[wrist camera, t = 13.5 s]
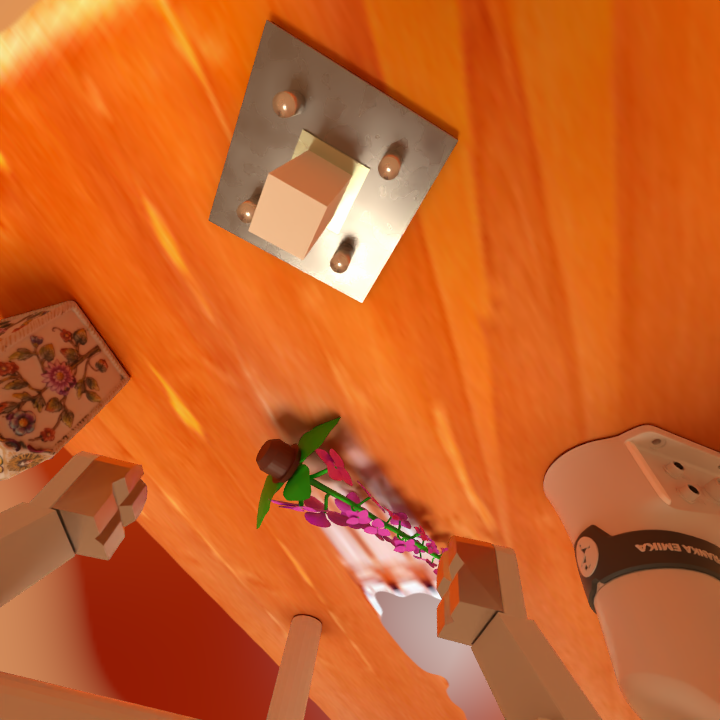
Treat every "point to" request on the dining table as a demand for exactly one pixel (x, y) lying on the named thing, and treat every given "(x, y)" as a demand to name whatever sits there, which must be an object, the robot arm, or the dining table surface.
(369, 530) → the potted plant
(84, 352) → the decorative jar
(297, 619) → the tan cylinder
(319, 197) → the post
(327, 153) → the grey square base plate
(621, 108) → the dining table surface
